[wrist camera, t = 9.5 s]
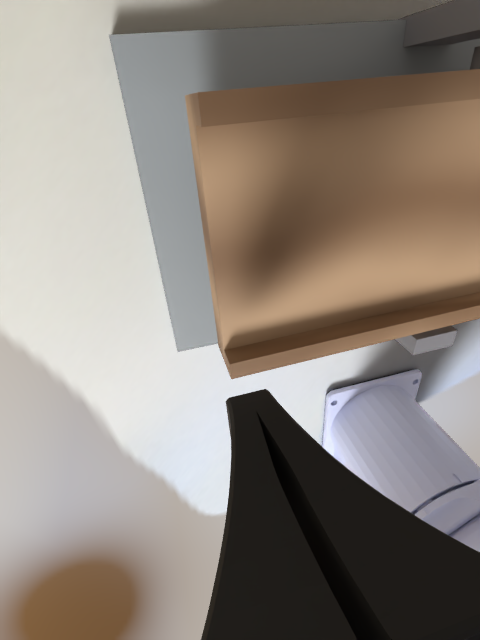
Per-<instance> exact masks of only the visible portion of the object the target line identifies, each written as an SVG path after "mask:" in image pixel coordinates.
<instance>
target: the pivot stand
mask: <svg viewBox="0 0 480 640" xmlns="http://www.w3.org/2000/svg"><path fill="white" fill-rule="evenodd" d="M109 37H110V42H111V46H112V51H113V56H114V60H115V65H116V70H117V74H118V79H119V83H120V88H121V93H122V97H123V102H124V106H125V111H126V116H127V120H128V125H129V129H130V134H131V139H132V143H133V148H134V153H135V157H136V162H137V166H138V171H139V176H140V180H141V185H142V189H143V194H144V199H145V203H146V208H147V213H148V217H149V222H150V226H151V231H152V236H153V240H154V245H155V249H156V254H157V259H158V263H159V268H160V272H161V277H162V282H163V286H164V291H165V296H166V300H167V305H168V309H169V314H170V319H171V323H172V328H173V332H174V337H175V342H176V346H177V351H178V352H180V351H185V350H189V349H194V348H199V347H203V346H208V345H213V344H217V343H218V338H217V331H216V323H215V316H214V308H213V301H212V294H211V286H210V279H209V271H208V264H207V257H206V249H205V242H204V234H203V227H202V220H201V212H200V205H199V197H198V190H197V182H196V175H195V168H194V160H193V153H192V145H191V138H190V131H189V123H188V116H187V108H186V101H185V95H189V94H193V93H197V92H207V91H219V90H231V89H243V88H255V87H267V86H279V85H291V84H303V83H315V82H327V81H340V80H352V79H364V78H376V77H388V76H400V75H412V74H424V73H436V72H448V71H460V70H470V66H471V62H472V57H473V53H474V49H475V47H478V46H480V0H453V1H451V2H448V3H445V4H442V5H439V6H436V7H433V8H430V9H427V10H424V11H421V12H418V13H415V14H412V15H409V16H406V17H404V18H401V19H398V20H387V21H368V22H348V23H329V24H309V25H290V26H270V27H251V28H232V29H212V30H193V31H173V32H154V33H134V34H115V35H109ZM456 334H457V330H456V329H455V328H453V327H452V326H447V327H443V328H439V329H434V330H430V331H426V332H422V333H418V334H414V335H410V336H406V337H402V338H398V339H395V340H396V341H397V342H398V343H400V344H401V345H402V346H403V347H404V348H405V349H406V350H407V351H409V352H410V353H411V354H412V355H417V354H421V353H425V352H429V351H433V350H437V349H441V348H446V347H450V346H453V343H454V340H455V337H456Z"/></svg>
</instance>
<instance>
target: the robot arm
mask: <svg viewBox="0 0 480 640" xmlns="http://www.w3.org/2000/svg"><path fill="white" fill-rule="evenodd" d="M421 378H422V373H421V372H420V371H419V370H417V369H416V370H411V371H407V372H403V373H399V374H395V375H391V376H388V377H384V378H380V379H376V380H372V381H368V382H364V383H360V384H356V385H352V386H348V387H344V388H340V389H336V390H332V391H330V392H329V393H328V394H327V396H326V407H325V419H324V432H323V444H322V446H321V445H320V444H318V443H317V442H316V441H315V440H314V439H313V438H312V437H311V436H310V435H309V434H308V433H307V432H306V431H305V430H304V429H303V428H302V427H301V426H300V425H299V424H298V423H297V422H296V421H295V420H294V419H293V418H292V417H291V416H290V415H289V414H288V413H287V412H286V411H285V410H284V409H283V407H282V406H281V405H280V404H279V403H278V402H277V401H276V399H275V398H274V397H273V396H272V395H271V393H270V392H269V391H268V390H266V389H264V390H259V391H255V392H251V393H247V394H243V395H239V396H235V397H231V398H228V400H227V401H226V406H227V413H228V420H229V428H230V435H231V474H230V488H229V498H228V507H227V515H226V523H225V529H224V535H223V541H222V547H221V553H220V558H219V564H218V568H217V573H216V578H215V583H214V587H213V592H212V597H211V602H210V606H209V610H208V615H207V619H206V623H205V626H204V630H203V634H202V639H201V640H480V467H479V466H478V465H477V464H476V463H475V462H474V461H473V460H472V459H471V458H470V457H469V456H468V455H467V454H466V453H465V452H464V451H463V450H462V449H461V448H460V447H459V446H458V445H457V443H455V441H454V440H453V439H452V438H451V437H450V436H449V435H448V434H447V433H446V432H445V431H444V430H443V429H442V428H441V427H440V426H439V425H438V424H437V423H436V422H435V421H434V420H433V418H432V417H431V416H430V415H428V413H427V412H426V411H425V410H424V409H423V408H422V407H421V406H420V405H419V404H418V403H417V402H416V401H415V399H416V396H417V392H418V388H419V385H420V381H421Z"/></svg>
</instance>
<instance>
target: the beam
mask: <svg viewBox="0 0 480 640" xmlns="http://www.w3.org/2000/svg"><path fill="white" fill-rule="evenodd" d="M185 101H186V108H187V116H188V123H189V131H190V138H191V145H192V153H193V160H194V168H195V175H196V182H197V190H198V197H199V205H200V212H201V220H202V227H203V234H204V242H205V249H206V257H207V264H208V271H209V279H210V286H211V294H212V301H213V308H214V316H215V323H216V331H217V338H218V345H219V348H220V351H221V353H222V356H223V359H224V361H225V364H226V366H227V369H228V372H229V374H230V377H231V379H234V378H238V377H242V376H247V375H251V374H255V373H259V372H263V371H267V370H271V369H275V368H279V367H283V366H287V365H291V364H296V363H300V362H304V361H308V360H312V359H316V358H320V357H324V356H328V355H332V354H336V353H340V352H345V351H349V350H353V349H357V348H361V347H365V346H369V345H373V344H377V343H381V342H385V341H389V340H394V339H398V338H402V337H406V336H410V335H414V334H418V333H422V332H426V331H430V330H434V329H439V328H443V327H447V326H451V325H455V324H459V323H463V322H467V321H471V320H475V319H479V318H480V46H478V47H475V49H474V53H473V57H472V62H471V66H470V70H460V71H448V72H436V73H424V74H412V75H400V76H388V77H376V78H364V79H352V80H340V81H327V82H315V83H303V84H291V85H279V86H267V87H255V88H243V89H231V90H219V91H207V92H197V93H193V94H189V95H185Z"/></svg>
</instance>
